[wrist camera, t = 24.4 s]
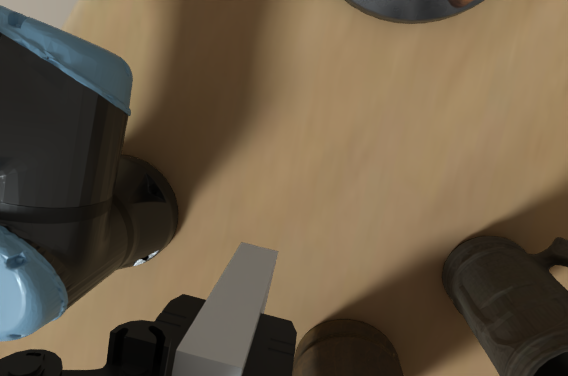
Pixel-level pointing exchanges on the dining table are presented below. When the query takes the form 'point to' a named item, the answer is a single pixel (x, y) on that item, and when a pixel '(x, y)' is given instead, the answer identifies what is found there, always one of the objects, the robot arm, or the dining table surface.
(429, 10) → the disc
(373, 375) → the wooden container
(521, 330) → the beer stein
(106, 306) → the dining table surface
